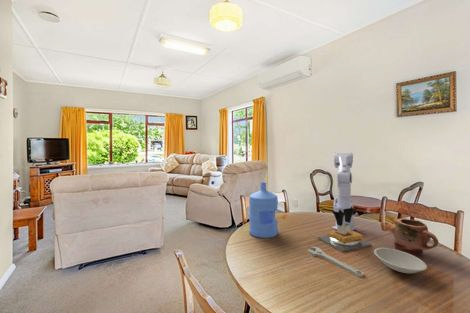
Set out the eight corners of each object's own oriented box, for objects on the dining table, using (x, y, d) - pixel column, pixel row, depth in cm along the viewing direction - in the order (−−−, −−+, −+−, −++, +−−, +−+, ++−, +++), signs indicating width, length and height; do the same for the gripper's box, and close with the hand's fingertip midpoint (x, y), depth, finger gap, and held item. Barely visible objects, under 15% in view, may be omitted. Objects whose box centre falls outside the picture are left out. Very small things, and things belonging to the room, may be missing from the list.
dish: (364, 261, 94) (364, 249, 94) (392, 257, 97) (392, 245, 97) (406, 287, 77) (406, 272, 77) (437, 280, 80) (438, 266, 80)
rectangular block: (341, 236, 115) (341, 222, 115) (349, 238, 112) (349, 224, 112) (337, 238, 113) (337, 224, 113) (345, 240, 110) (345, 226, 110)
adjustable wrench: (365, 277, 84) (365, 272, 84) (353, 281, 81) (353, 277, 81) (315, 249, 106) (315, 245, 106) (304, 251, 104) (304, 248, 104)
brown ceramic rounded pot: (448, 261, 94) (449, 228, 93) (429, 267, 89) (430, 232, 89) (399, 242, 112) (399, 214, 112) (381, 246, 108) (381, 217, 108)
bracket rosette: (344, 233, 123) (344, 225, 123) (371, 245, 108) (371, 236, 108) (317, 239, 117) (318, 230, 117) (342, 252, 102) (343, 242, 102)
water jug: (243, 233, 125) (243, 183, 124) (260, 225, 137) (260, 179, 136) (266, 241, 115) (266, 186, 113) (283, 232, 126) (283, 182, 125)
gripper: (343, 193, 119) (343, 218, 120) (328, 197, 111) (327, 224, 111) (357, 195, 114) (357, 222, 114) (342, 199, 105) (341, 228, 106)
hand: (343, 223), depth 112 cm, fingers open, 7 cm apart
